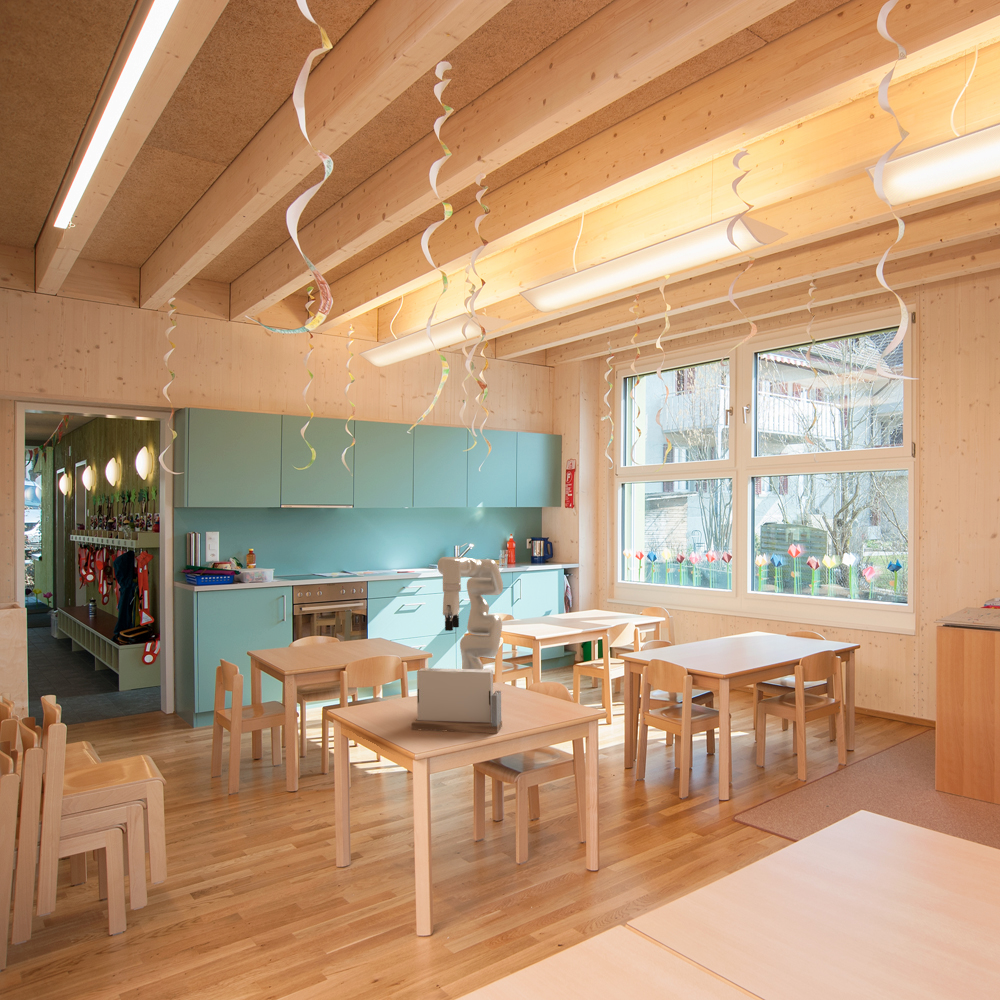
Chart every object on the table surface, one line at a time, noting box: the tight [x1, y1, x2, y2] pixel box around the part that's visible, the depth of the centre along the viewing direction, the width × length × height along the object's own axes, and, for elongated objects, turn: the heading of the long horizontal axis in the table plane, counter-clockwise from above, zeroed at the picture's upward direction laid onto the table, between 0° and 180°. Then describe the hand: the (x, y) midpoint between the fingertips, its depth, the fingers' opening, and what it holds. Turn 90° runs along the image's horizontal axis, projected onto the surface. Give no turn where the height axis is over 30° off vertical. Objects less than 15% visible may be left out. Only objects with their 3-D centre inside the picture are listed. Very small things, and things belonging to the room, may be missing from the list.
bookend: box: [492, 690, 502, 727], centre depth 306 cm, size 9×2×12 cm, turn 169°
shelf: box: [411, 718, 503, 734], centre depth 309 cm, size 10×35×2 cm, turn 79°
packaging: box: [416, 667, 494, 723], centre depth 313 cm, size 30×6×20 cm, turn 81°
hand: (452, 628), depth 321 cm, fingers open, 9 cm apart
